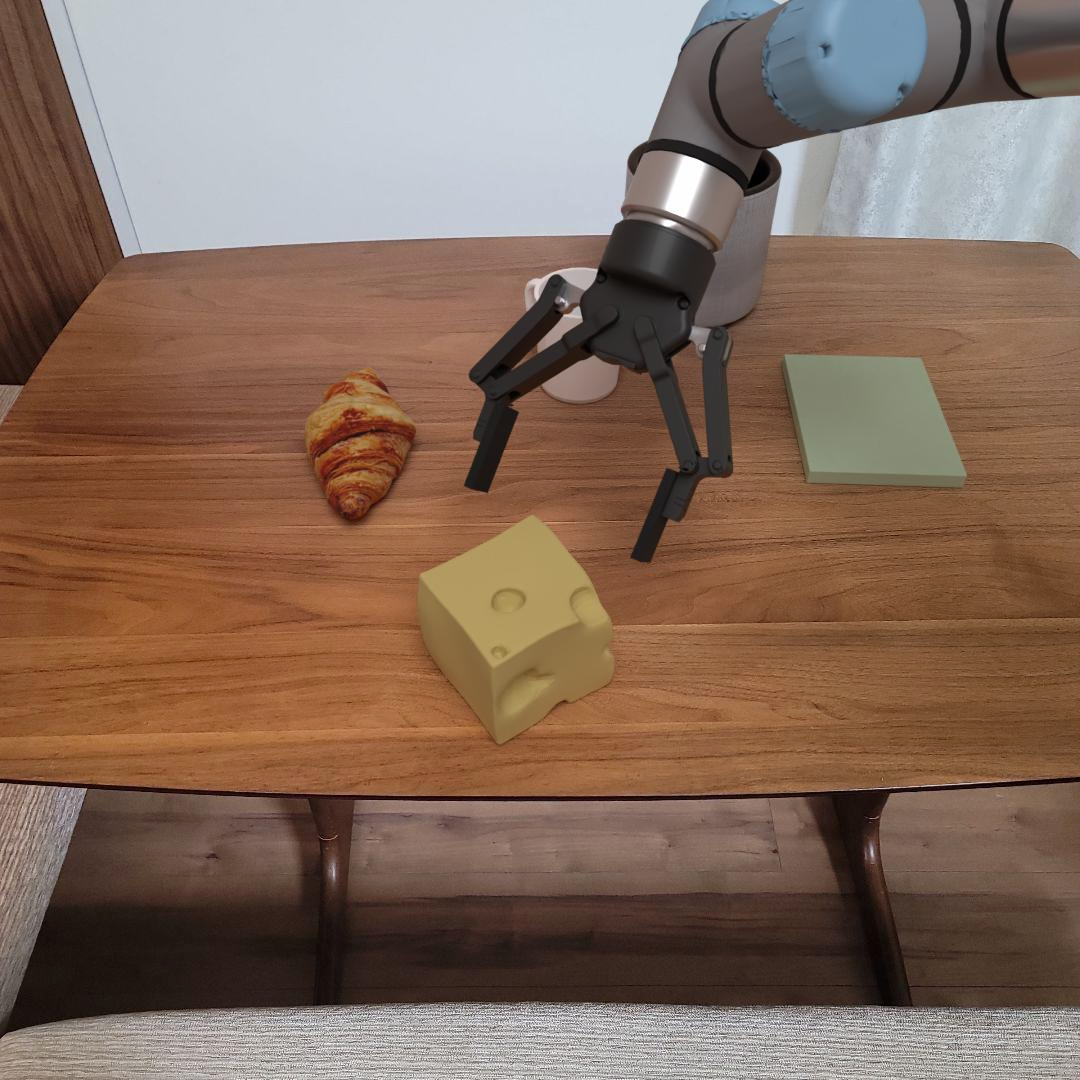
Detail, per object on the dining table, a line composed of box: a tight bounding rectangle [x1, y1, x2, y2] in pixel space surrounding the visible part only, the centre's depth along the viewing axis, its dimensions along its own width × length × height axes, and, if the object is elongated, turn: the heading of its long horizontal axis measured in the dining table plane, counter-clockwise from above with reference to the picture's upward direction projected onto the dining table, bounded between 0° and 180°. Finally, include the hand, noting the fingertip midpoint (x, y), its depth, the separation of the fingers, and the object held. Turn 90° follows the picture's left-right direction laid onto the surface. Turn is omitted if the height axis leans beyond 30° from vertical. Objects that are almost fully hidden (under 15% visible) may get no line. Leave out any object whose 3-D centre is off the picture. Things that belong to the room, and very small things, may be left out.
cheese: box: [416, 514, 616, 746], centre depth 67 cm, size 10×11×10 cm
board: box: [781, 353, 968, 489], centre depth 90 cm, size 18×14×2 cm
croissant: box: [303, 366, 417, 521], centre depth 85 cm, size 21×10×8 cm, turn 5°
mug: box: [523, 267, 620, 405], centre depth 92 cm, size 11×9×10 cm
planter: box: [622, 140, 783, 329], centre depth 100 cm, size 16×16×16 cm
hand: (554, 524), depth 66 cm, fingers open, 13 cm apart
